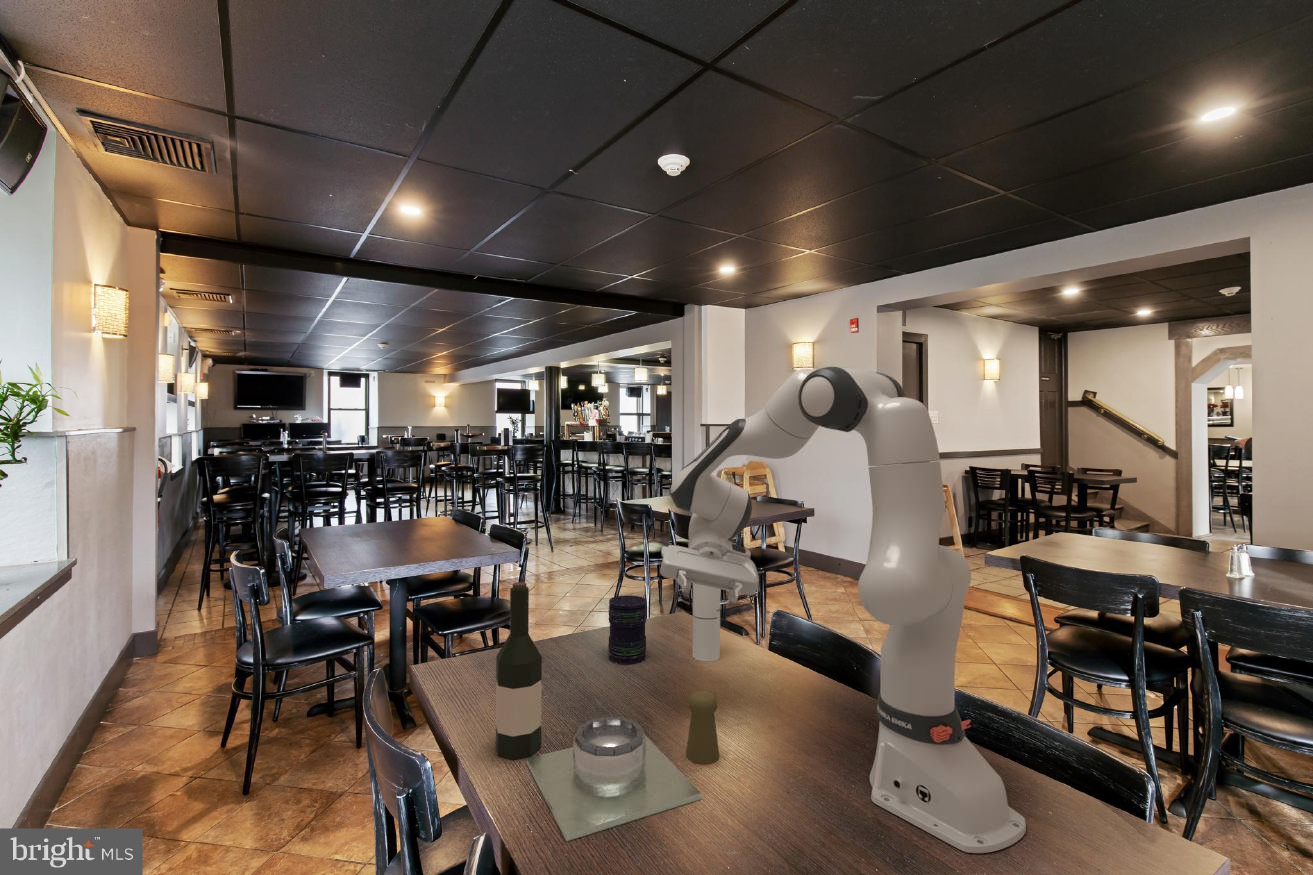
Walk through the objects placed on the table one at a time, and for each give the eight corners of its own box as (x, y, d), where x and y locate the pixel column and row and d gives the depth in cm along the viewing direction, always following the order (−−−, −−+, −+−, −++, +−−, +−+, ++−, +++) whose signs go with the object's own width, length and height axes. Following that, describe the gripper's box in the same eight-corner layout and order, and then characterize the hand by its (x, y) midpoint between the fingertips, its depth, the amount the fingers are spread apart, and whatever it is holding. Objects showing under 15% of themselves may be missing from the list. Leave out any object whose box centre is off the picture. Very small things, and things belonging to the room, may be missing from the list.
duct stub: (700, 799, 92) (701, 748, 92) (566, 841, 82) (566, 784, 82) (641, 735, 112) (641, 693, 112) (526, 763, 102) (527, 717, 102)
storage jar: (654, 657, 153) (654, 599, 153) (627, 668, 145) (628, 607, 145) (626, 648, 159) (627, 593, 159) (600, 658, 152) (600, 600, 152)
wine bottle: (525, 731, 113) (526, 576, 113) (550, 748, 107) (551, 583, 108) (486, 747, 107) (487, 583, 108) (510, 765, 101) (511, 592, 102)
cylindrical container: (724, 654, 155) (725, 560, 155) (712, 663, 149) (712, 564, 149) (700, 649, 159) (701, 557, 159) (687, 657, 152) (688, 561, 153)
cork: (717, 766, 102) (718, 702, 102) (683, 762, 103) (683, 699, 103) (721, 748, 108) (721, 688, 108) (688, 744, 109) (688, 685, 109)
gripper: (664, 531, 126) (661, 570, 113) (757, 552, 126) (764, 592, 114) (658, 555, 128) (654, 596, 116) (749, 575, 129) (755, 618, 116)
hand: (709, 594), depth 115 cm, fingers open, 8 cm apart
